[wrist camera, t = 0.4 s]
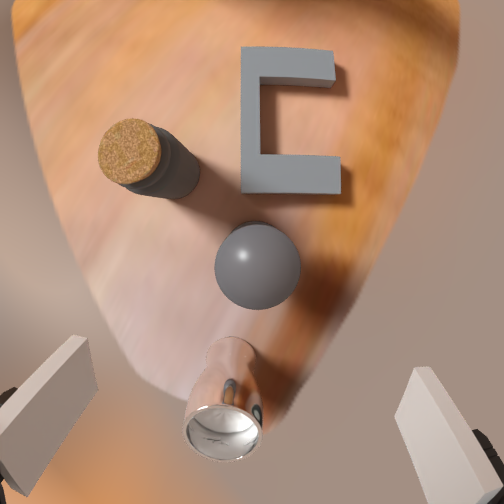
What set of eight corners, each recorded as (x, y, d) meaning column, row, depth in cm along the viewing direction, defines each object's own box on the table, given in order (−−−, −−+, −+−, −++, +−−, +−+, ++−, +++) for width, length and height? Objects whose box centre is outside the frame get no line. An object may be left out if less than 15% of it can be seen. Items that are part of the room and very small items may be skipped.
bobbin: (223, 221, 36) (213, 225, 26) (287, 220, 36) (301, 224, 26) (224, 283, 37) (215, 309, 27) (286, 283, 37) (299, 309, 27)
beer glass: (261, 381, 38) (266, 462, 23) (206, 383, 38) (187, 463, 23) (258, 331, 37) (263, 401, 23) (199, 334, 37) (173, 402, 23)
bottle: (193, 142, 35) (158, 99, 20) (205, 191, 35) (175, 178, 20) (145, 156, 35) (85, 127, 20) (156, 205, 35) (98, 203, 21)
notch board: (241, 56, 33) (241, 46, 31) (328, 59, 33) (333, 51, 31) (241, 193, 35) (241, 192, 33) (335, 194, 35) (341, 193, 33)
